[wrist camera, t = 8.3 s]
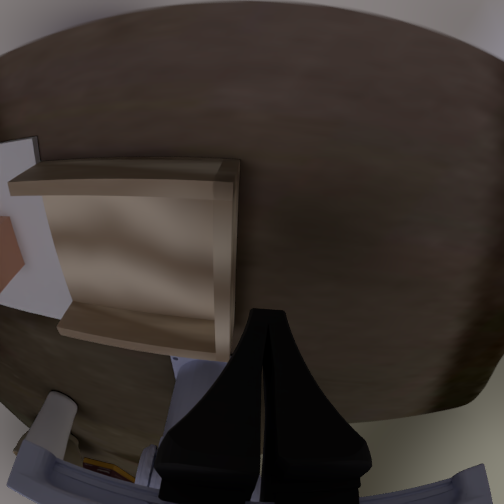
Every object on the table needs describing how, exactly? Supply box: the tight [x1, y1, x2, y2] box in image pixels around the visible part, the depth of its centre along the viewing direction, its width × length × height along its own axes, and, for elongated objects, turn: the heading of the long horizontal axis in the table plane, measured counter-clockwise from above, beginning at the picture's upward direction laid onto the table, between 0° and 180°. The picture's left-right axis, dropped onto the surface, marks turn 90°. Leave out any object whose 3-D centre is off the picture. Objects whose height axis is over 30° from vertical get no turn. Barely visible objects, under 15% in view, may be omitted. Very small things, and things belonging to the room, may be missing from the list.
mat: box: [0, 136, 72, 319], centre depth 22 cm, size 18×14×1 cm
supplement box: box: [83, 458, 135, 484], centre depth 56 cm, size 10×15×16 cm
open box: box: [7, 157, 240, 362], centre depth 21 cm, size 14×15×4 cm
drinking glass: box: [25, 391, 78, 460], centre depth 33 cm, size 7×7×15 cm
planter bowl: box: [13, 431, 83, 468], centre depth 46 cm, size 16×16×11 cm
